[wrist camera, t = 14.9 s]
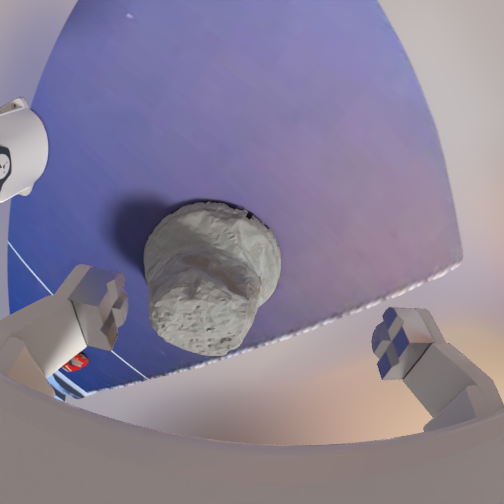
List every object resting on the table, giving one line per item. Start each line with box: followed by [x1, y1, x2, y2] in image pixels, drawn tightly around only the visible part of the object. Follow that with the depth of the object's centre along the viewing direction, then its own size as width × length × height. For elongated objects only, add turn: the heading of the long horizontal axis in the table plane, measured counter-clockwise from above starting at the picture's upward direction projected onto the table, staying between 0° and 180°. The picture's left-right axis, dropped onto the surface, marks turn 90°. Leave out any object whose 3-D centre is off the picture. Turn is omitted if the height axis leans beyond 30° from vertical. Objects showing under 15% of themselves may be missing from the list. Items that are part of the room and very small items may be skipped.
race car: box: [62, 352, 89, 372], centre depth 67 cm, size 13×5×4 cm, turn 120°
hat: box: [143, 201, 281, 356], centre depth 43 cm, size 26×23×15 cm
